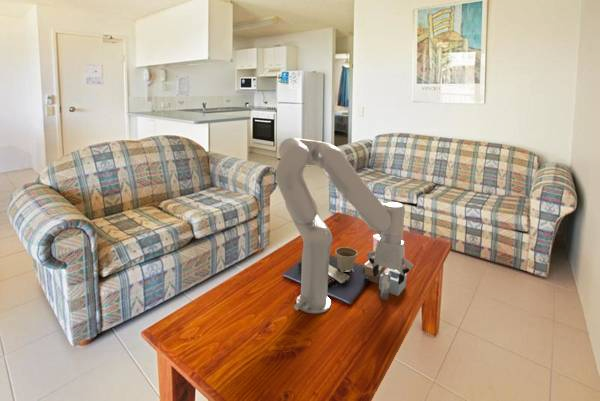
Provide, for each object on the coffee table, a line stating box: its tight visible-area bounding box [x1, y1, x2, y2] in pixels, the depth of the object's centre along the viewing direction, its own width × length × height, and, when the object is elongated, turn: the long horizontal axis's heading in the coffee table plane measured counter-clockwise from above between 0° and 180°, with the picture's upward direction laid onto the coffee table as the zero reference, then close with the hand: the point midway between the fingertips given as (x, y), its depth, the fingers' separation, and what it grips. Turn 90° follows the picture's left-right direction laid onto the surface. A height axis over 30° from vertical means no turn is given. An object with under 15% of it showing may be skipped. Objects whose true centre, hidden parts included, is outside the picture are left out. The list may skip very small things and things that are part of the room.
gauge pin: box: [379, 272, 391, 300], centre depth 137 cm, size 3×3×10 cm
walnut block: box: [364, 262, 386, 284], centre depth 151 cm, size 6×6×6 cm
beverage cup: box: [372, 233, 380, 251], centre depth 172 cm, size 6×6×14 cm
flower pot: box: [335, 246, 358, 271], centre depth 156 cm, size 9×9×9 cm
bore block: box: [378, 267, 408, 297], centre depth 144 cm, size 8×8×6 cm
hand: (387, 279), depth 136 cm, fingers open, 9 cm apart
